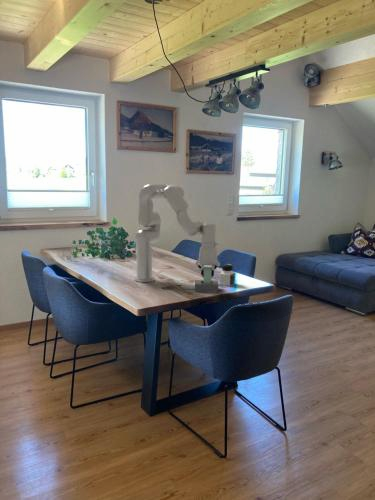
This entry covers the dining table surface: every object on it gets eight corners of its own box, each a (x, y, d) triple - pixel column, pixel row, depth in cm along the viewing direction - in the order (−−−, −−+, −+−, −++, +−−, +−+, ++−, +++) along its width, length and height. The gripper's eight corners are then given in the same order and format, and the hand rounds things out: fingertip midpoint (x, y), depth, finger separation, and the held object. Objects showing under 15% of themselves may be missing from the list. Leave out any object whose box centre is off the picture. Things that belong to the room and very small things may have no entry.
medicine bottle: (230, 286, 235) (230, 266, 233) (219, 284, 238) (219, 265, 236) (234, 283, 241) (235, 264, 239) (223, 282, 244) (224, 263, 242)
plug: (202, 286, 228) (203, 266, 226) (211, 287, 228) (211, 266, 226) (202, 289, 224) (203, 268, 222) (211, 289, 223) (212, 268, 221)
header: (195, 287, 231) (195, 280, 230) (217, 288, 230) (217, 280, 229) (194, 291, 222) (195, 284, 221) (218, 292, 221) (218, 284, 221)
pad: (183, 285, 234) (183, 285, 234) (195, 286, 234) (195, 285, 234) (182, 289, 227) (182, 288, 227) (195, 289, 227) (195, 288, 227)
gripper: (223, 244, 225) (222, 275, 228) (193, 243, 226) (192, 274, 229) (223, 246, 218) (222, 278, 221) (193, 245, 218) (192, 278, 221)
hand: (207, 276), depth 225 cm, fingers closed on plug, 4 cm apart
